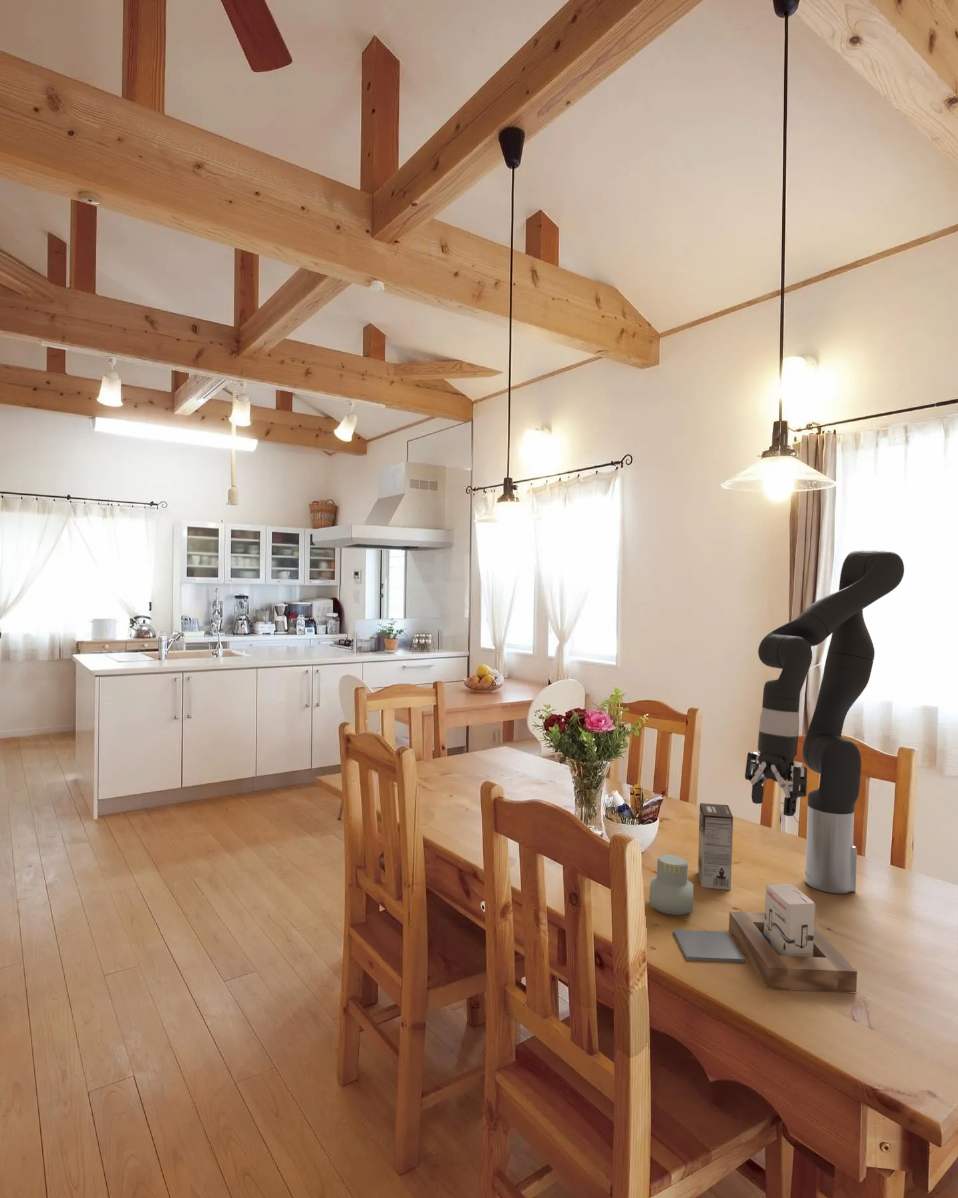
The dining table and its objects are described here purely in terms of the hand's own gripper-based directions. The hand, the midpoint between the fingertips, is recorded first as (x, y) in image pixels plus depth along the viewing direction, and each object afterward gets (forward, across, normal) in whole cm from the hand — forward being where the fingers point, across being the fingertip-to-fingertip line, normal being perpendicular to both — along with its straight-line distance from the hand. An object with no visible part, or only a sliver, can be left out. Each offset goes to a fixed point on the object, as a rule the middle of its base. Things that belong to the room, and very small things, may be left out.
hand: (772, 809), depth 146 cm
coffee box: (+20, +13, +2) cm, 24 cm away
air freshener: (+21, +4, +20) cm, 29 cm away
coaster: (+21, -10, +24) cm, 33 cm away
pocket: (+20, -19, +13) cm, 30 cm away
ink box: (+20, -19, +13) cm, 31 cm away
